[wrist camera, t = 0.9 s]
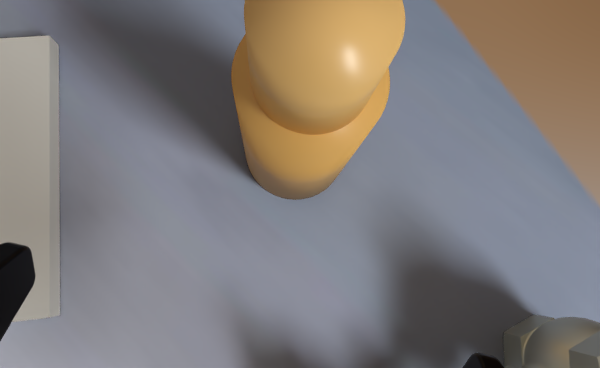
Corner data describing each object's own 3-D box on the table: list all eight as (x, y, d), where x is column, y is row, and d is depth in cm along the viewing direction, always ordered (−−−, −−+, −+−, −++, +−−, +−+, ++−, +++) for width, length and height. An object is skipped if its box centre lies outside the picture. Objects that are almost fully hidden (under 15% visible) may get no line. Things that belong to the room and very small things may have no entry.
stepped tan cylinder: (349, 194, 23) (445, 104, 10) (250, 204, 22) (228, 121, 10) (336, 101, 24) (410, -82, 11) (241, 109, 23) (211, -74, 11)
